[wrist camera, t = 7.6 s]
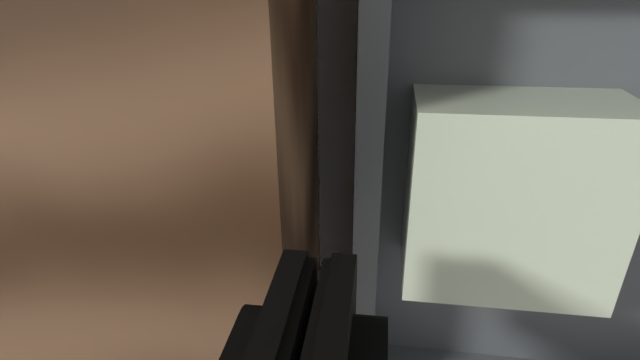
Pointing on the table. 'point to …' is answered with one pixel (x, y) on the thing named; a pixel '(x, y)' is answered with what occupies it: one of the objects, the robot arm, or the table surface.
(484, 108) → the tile
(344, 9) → the table surface
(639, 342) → the bin
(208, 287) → the brown slab
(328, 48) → the table surface
